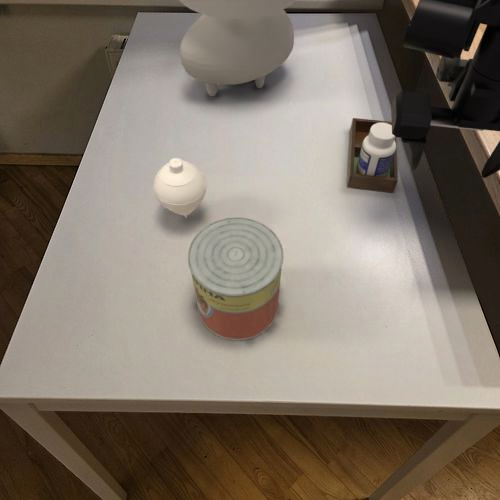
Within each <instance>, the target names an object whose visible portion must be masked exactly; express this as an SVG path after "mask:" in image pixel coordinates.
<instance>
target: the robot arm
mask: <svg viewBox="0 0 500 500" xmlns="http://www.w3.org/2000/svg"><path fill="white" fill-rule="evenodd" d="M480 25H485V29H484V31H483V33H482V35H481V37H480V40H479V43H478V45H477V47H476V49H475V52H474V55H473V57H472V58H468V59H463V58H462V54H463V52H468V53H469V51H470V49H471V47H472V44H473V42H474V40H475V38H476V34H477V33H478V30H479V28H480ZM402 46H403V48H405V49H410V50H415V51H419V52H423V53H428V54H431V55H435V56H439V57H440V60H439V61H438V65H437V69H436V72H435V78H436V79H437V81H438V82H440V83H447V86H448V87H450V91H449V93H448V99H449V102H453V104H452V105H451V108H449V107H439V106H432V105H431V96H430V93H425V92H424V93H421V92H413V91H412V92H411V91H400V92H399V93H397V94H396V95H395V96H394V97H393V101H392V103H391V107H390V113H391V115H390V116H391V122H392V134H393V135H394V136H396V138H399V139H400V140H401V142H402V143H404V144H408V146H409V149H410V151H411V153H410V154H411V170H412V171H416V170H417V168H418V167H419V164H420V162H421V159H422V156H423V153H424V151H425V148H426V145H427V136H428V135H429V131H430V129H431V127H438V128H439V127H441V128H451V129H460V130H471V131H479V132H480V131H492V132H493V131H494V132H500V0H418V3H417V4H416V8H415V10H414V13H413V15H412V17H411V19H410V21H409V23H408V25H407V28H406V32H405V35H404V39H403V45H402ZM499 171H500V140H499V141H498V143H497V144H496V146H495V148H494V149H493V151H492V152H491V153H490V155H489V157H488V158H487V160H486V162H485V164H484V166H483V168H482V169H481V178H483V179H486V178H488V177H490V176H492V175H494V174H496V173H498V172H499Z"/></svg>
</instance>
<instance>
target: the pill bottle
mask: <svg viewBox="0 0 500 500" xmlns="http://www.w3.org/2000/svg"><path fill="white" fill-rule="evenodd" d="M394 139H395V136H394V135H393V134H392V125H390V124H387V123H376V124H374V125H373V126H372V127H371V129H370V132H369V135H368V136H367V137H366V138H365V139H364V141H363V144H362V148H361V152H360V156H359V160H358V164H357V173H358V174H364V175H373V176H382V177H387V175H388V172H389V168H390V165H391V162H392V159H393V156H394V153H395V150H396V143H395V141H394Z"/></svg>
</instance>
